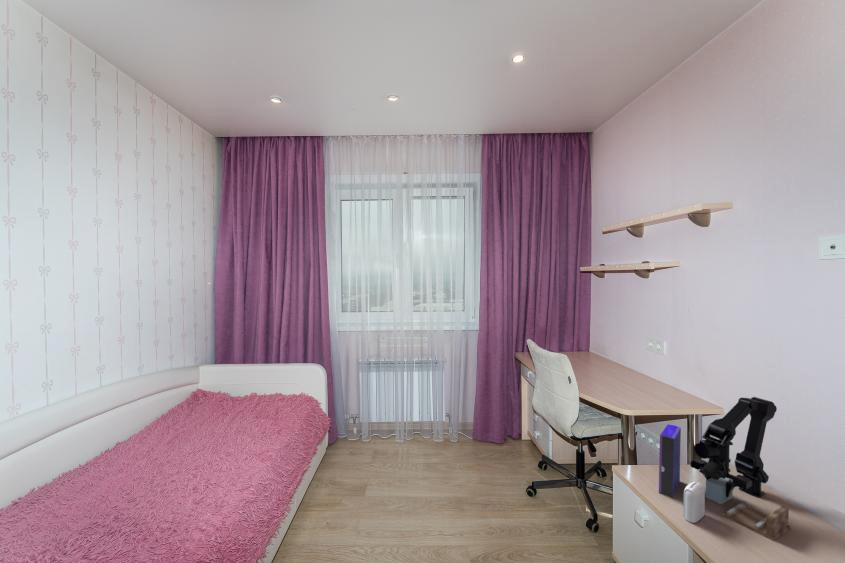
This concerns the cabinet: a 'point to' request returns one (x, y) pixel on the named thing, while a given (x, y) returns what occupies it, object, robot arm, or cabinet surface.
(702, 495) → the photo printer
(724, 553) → the cabinet surface
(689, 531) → the cabinet surface
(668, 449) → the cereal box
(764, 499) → the cabinet surface
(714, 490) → the light blue block
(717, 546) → the cabinet surface
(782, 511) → the cleat stand
